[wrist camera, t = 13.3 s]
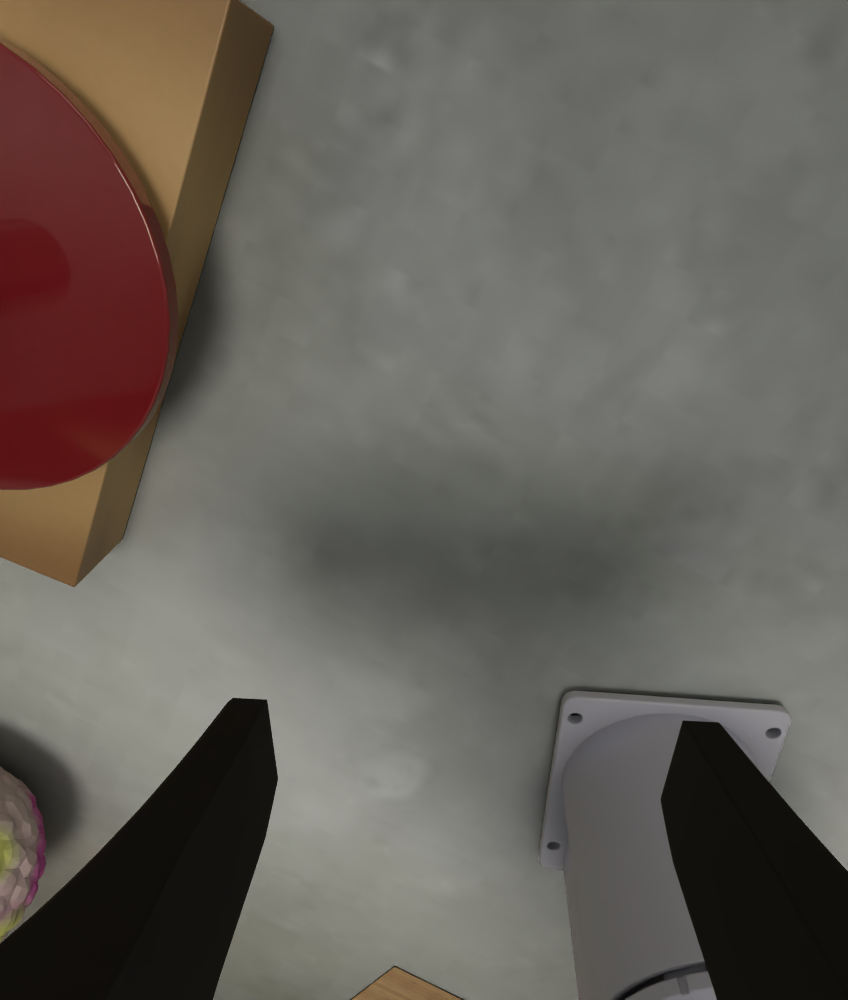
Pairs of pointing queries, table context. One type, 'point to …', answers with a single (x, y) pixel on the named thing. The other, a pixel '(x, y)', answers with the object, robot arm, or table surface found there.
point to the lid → (74, 286)
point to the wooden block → (168, 184)
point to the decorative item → (18, 850)
